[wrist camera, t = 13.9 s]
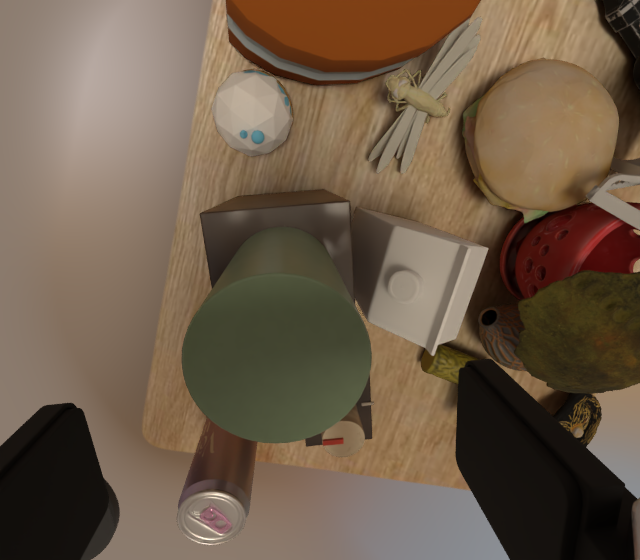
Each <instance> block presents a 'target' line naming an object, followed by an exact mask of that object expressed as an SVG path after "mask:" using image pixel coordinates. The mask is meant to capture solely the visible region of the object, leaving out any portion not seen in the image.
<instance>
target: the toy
mask: <svg viewBox="0 0 640 560" xmlns="http://www.w3.org/2000/svg"><path fill="white" fill-rule="evenodd" d="M469 20H470V18H469V19H468V20H467V21H465V22H464V23H463V24H461V25H460V26H459V27H457V28H456V29H455V30H453V31H452V32H451V33H450V34H449V35H448V37H447V39H446V41H445V42H444V44H443V46H442V48H441V49H440V51H439V53H438V54H437V56H436V58H435V60H434V61H433V63H432V65H431V66H430V68H429V70H428V72H427V73H426V74H425V75H424V76H423V77H422V79H423V80H422V82H421V84H420V81H421V72H422V70H418V71H417V72H416V73H415V74H414V75H413V76H412V75H411V74H410V70H406V69H404V70H403V71H402V72H401V73H400V74H399V75H397V76H396V77H395V75H394V76H392V75H390V77H389V78H388V80H387V82H386V83H385V84H386V86H387V87H388V89H389V92H388V97H387V99H388V100H389V102H390V103H391V101H392V102H396V103H397V104H396V112H398V111H400V110H404V111H403V112H402V113H401V114H400V116H399V117H398V118H397V119H396V121H395V122H394V123H393V124H392V126H391V127H390V128H389V129H388V131H387V132H386V133H385V134H384V136H383V137H382V138H381V140H380V141H379V142H378V143H377V145H376V146H375V147H374V149H373V150H372V152H371V153H370V155H369V158H368V161H370V162H371V161H372V160H374V159H375V158H377V157H379V156H380V155H381V153H382V152H383V153H382V155H381V158H380V161H379V164H378V167H377V170H376V173H377V174H378V173H380V172H381V171H382V170H383V169H384V168H385V167H386V166H387V165H388V164H389V163H390V161H391V159H392V157H393V156H394V154H395V152H396V150H397V148H398V146H399V144H400V146H399V149H398V152H397V156H396V158H397V159H398V158H399V157H401V155H402V154H403V153H404V154H403V158H402V163H401V168H400V171H401V174H404V173H405V172H406V170H407V169H408V167H409V165H410V163H411V162H412V159H413V156H414V153H415V150H416V146H417V143H418V140H419V137H420V134H421V131H422V128H423V125H424V122H426V123H428V122H429V120H430V117H429V114H430V115H432V116H433V117H441V116H442V117H443V116H448V115H449V113H450V108H449V110H448V111H447V113H446V110H445V108H444V107H443V104H441V103H440V102H439V100H441V99H443V98H445V97H446V96H447V94H446V92H444V91H445V90H446V88H447V87H448V86H449V85H450V84H451V83H452V82H453V81H454V80H455V78H456V77H457V76H458V75H459V74H460V73H461V72H462V70H463V69H464V68H465V67H466V65H467V64H468V63H469V61H470V60H471V59H472V57H473V55H474V53H475V52H476V49H477V45H478V44H479V41H480V35H479V34H478V35H476V33H477V32H478V30H479V27H480V25H481V22H482V18H481V17H478V18H476V19H475V20H474V21H473V22H472V23H471V24H470V25H469V26H468V24H469ZM475 35H476V36H475ZM474 36H475V37H474ZM404 72H407V74H408V75H409V77H408V78H407V77H405V76H403V77H402V76H401V75H402V74H403V73H404ZM418 73H419V80H418V85H417V84H416V83H415V80H414V78H413V77H415V76H416V75H417V74H418ZM399 76H401V77H399ZM391 77H392V78H391ZM398 77H399V78H398ZM411 79H412V81H410V80H411ZM410 82H413V85H414V87H413V86H410ZM387 83H388V84H387ZM443 92H444V93H443ZM390 93H391V95H392V98H393V99H394V100H392V99H390V98H389V97H390ZM442 93H443V94H442ZM441 94H442V96H441V97H440V98H439V99H437V98H438V97H439V96H440V95H441ZM403 98H404V99H405V101H400V100H401V99H403ZM436 99H437V100H436ZM399 103H407V104H406V105H404V106H403V107H401V108H399V107H398V106H399ZM406 106H407V107H406ZM398 108H399V109H398ZM416 109H417V110H416ZM427 113H428V114H427ZM426 116H427V118H426ZM425 119H426V121H425ZM400 142H401V143H400Z"/></svg>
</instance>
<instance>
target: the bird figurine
mask: <svg viewBox="0 0 640 560" xmlns="http://www.w3.org/2000/svg"><path fill="white" fill-rule="evenodd" d="M472 360H480V359H478V358H475V357H472V356H469V355H466V354H465V353H462V352H460V351H457V350H454V349H450V348H449V347H446V346H443V345H441V344H439V345H438V346H437V349H436V352H435V355H434V356H432V355H431V354H430V353H429V352H428V351H427V349H425V351H424V353H423V357H422V360H421V368H422V370H423V371H424V372H426V373H429V374H433V375H435V376H437V377H440V378H442V379H445V380H447V381H450V382H453V383H457V384H458V375H459V369H460V368H461V367H465V364H466V362H467V361H472Z"/></svg>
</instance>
